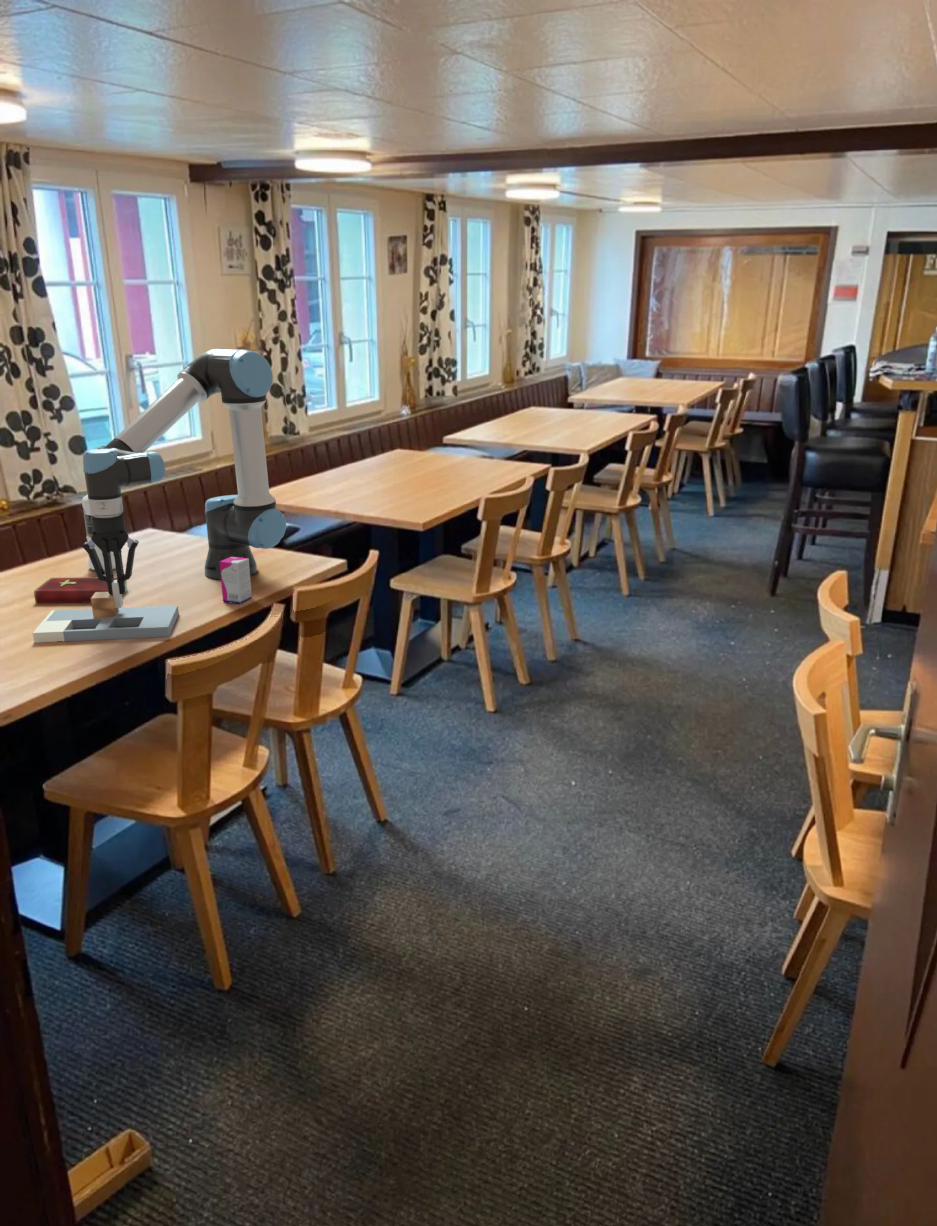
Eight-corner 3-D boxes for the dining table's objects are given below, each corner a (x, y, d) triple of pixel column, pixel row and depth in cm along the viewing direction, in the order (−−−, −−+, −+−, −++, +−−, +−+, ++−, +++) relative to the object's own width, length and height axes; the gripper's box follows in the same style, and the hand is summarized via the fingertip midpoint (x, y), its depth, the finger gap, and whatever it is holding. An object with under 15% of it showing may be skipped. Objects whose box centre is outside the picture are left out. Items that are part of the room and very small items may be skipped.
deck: (178, 614, 227) (177, 605, 226) (169, 636, 212) (167, 626, 211) (53, 619, 222) (51, 610, 221) (34, 642, 207) (32, 632, 206)
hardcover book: (115, 604, 235) (113, 589, 234) (35, 604, 234) (33, 590, 232) (129, 590, 246) (127, 576, 245) (53, 590, 245) (50, 576, 244)
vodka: (119, 570, 262) (107, 471, 252) (86, 572, 260) (72, 472, 250) (123, 562, 271) (111, 465, 260) (91, 563, 269) (78, 466, 258)
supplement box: (252, 597, 240) (249, 557, 236) (240, 604, 235) (237, 563, 231) (234, 595, 242) (231, 555, 238) (222, 601, 237) (218, 561, 233)
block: (118, 609, 222) (116, 591, 220) (114, 616, 218) (112, 597, 216) (98, 610, 221) (95, 592, 220) (93, 617, 217) (90, 598, 215)
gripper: (74, 518, 207) (88, 612, 215) (132, 517, 209) (143, 609, 217) (82, 511, 214) (95, 602, 222) (137, 510, 216) (148, 600, 224)
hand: (119, 606), depth 220 cm, fingers closed
